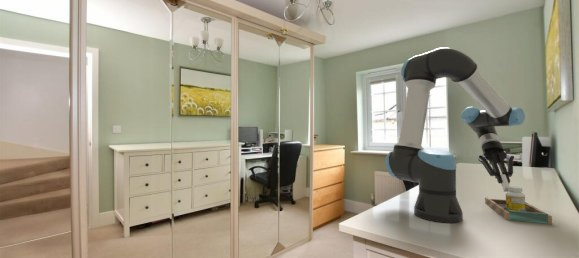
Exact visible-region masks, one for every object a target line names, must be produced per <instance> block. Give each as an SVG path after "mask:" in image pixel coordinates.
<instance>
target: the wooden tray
mask: <svg viewBox="0 0 579 258" xmlns="http://www.w3.org/2000/svg"><path fill="white" fill-rule="evenodd" d="M484 202H485V204H486V205H487V206H488V207H489V208H491V209H492V210H493V211H494V212H496V213H497V214H498V215H500V216H501V217H502V218H503V219H504V220H506V221H516V222H517V221H518V222H527V223H537V224H548V225H553V216H552V215H550V214H549V213H547V212H545V211H543V210H541V209H540V208H537V207H536V206H534V205H532V204H529V203H528V202H526V201H525V212H524V211H512V210H508V211H506V199H499V198H497V199H496V198H489V197H488V196H485V197H484Z"/></svg>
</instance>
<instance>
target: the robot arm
mask: <svg viewBox="0 0 579 258" xmlns="http://www.w3.org/2000/svg"><path fill="white" fill-rule="evenodd" d="M400 75H401V77H402V81H403V83H404V85H405V87H406V88H407V92H406V93H407V94H406V98H405V105H404V109H403V115H402V120H401V128H400V131H399V132H400V133H399V138H398V142H397V143H395V144H394V146H393V149H392V150H391V151H389V152H388V153H387V155H386V156H385V161H384V163H385V168H386V171H388V174H389V175H390V176H391V177H392V178H395V179H398V180H401V181H406V182H407V181H408V182H413V183H417V184H418V195H417V198H416V200H415V203H414V206H413V207H414V208H413V214H414V215H415V216H417V217H419V218H421V219H423V220H427V221H432V222H438V223H449V224H450V223H460V222H462V221H463V219H464V217H463V216H464V215H463V214H464V213H463V210H462V208H461V204H460V202H459V200H458V197H457V164H456V163H457V162H456V157H455V156H454V154H453V153H451V152H449V151H444V150H438V149H424V147H423V146H422V144H423V138H424V131H425V126H426V119H427V112H428V105H429V101H430V94H431V90H432V89H434V88H435V87H436V83H437V80H438V79H441V78H442V79H443V78H447V79H450V80H451V81H452V83H457V84H459V85H460V86H461V88H462V89H463V90H464V91H465V92H466V93H467V94H468V95H469V96H470V97H471V98H472V99H473V100H474V101H475V102H476V103H477V104H478V105H479V106H480V107H481V108H482V109H483V110H480V109H479V108H478V107H475V106H468V107H466V108H465V109H463V110H462V112H461V114H460V118H461V120H463V122H464V123H465V124H466V125H467V126H469V127H470V129H472V131H473V132H474V133H475V134H476V135H477V138H478V142H479V144H480V148H481V151H482V153H483V154H482V155H478V158H477V161H479V162H480V163H481V165H483V168H484V169H485V170H486V171H487V173H488V174H489V176H490V177H494V178H495V179H496V180H497V183H498V184H501V187H502V190H503V192H505V193H506V192H508V191H509V190H508V186H510V183H511V179H510V178H511V177H512V176H513V174H514V159H515V156H513V155H511V156H509V155H507V153H506V152H505V149H504V146H503V145H502V142H501V140H500V138H499V134H498V131H497V130H496V127H515V126H517V127H518V126H521V125H523V123H524V122H525V117H526V115H525V112H524V109H523V108H521V107H511V106H510V105H509V104H508V102H507V101H506V100H505V99H504V98H503V97H502V96H501V95H500V94H499V93H498V92H497V90H496V89H495V88H494V87H493V85H492V84H490V82H489V81H488V80H487V79H486V78H485V77H484V76H483V74H481V73H480V71H479V70H478V64H477V63H476V62H475V61H474V60H473V59H472V58H471V57H470V56H469V55H467V54H466V53H463V52H462V51H461V50H460V51H459V50H458V49H454V48H451V47H438V48H435V49H433V50H430V51H427V52H424V53H422V54H417V55H414V56H412V57H409V58H408V59H407V60H406V61H404V63H403V64H402V66H401V71H400ZM505 159H506V161H507V166H506V165H505V162H504V161H505Z"/></svg>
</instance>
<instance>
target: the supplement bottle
mask: <svg viewBox="0 0 579 258" xmlns="http://www.w3.org/2000/svg"><path fill="white" fill-rule="evenodd" d="M508 190H509V191H508V192H505V200H506V211H508V210H512V211H524V212H526V211H525V202H526V196H525V194H524V193H522V192H523V187H520V186H516V185H509V186H508Z"/></svg>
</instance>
